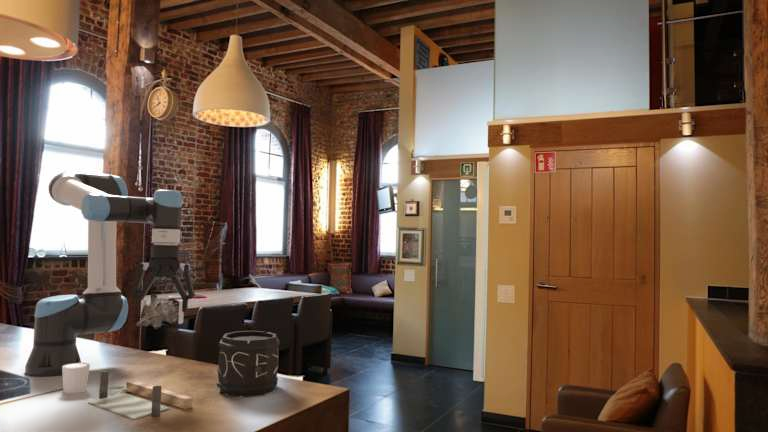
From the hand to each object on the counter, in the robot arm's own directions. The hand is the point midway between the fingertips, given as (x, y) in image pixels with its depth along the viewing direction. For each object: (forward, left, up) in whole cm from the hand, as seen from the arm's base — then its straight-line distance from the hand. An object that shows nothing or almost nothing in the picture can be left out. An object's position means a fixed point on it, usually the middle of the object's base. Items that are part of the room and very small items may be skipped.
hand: (161, 322), depth 154 cm
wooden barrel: (+17, +18, -20) cm, 32 cm away
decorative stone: (+1, -1, -1) cm, 1 cm away
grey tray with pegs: (+5, -10, -19) cm, 22 cm away
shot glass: (-19, -13, -20) cm, 30 cm away
